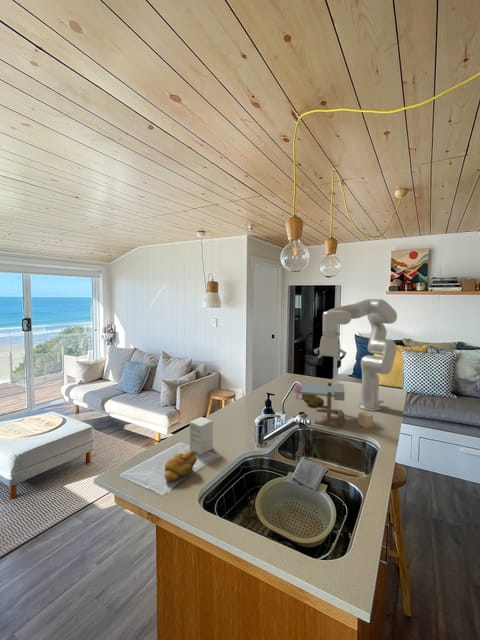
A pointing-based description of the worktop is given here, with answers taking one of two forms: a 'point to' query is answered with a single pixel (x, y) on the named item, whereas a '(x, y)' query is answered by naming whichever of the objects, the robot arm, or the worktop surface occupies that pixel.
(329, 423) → the stand
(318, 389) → the trapdoor
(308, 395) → the potato
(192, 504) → the worktop surface
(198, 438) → the supplement box
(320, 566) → the worktop surface
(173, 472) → the bread roll
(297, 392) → the lily
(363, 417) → the tan block
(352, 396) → the worktop surface
